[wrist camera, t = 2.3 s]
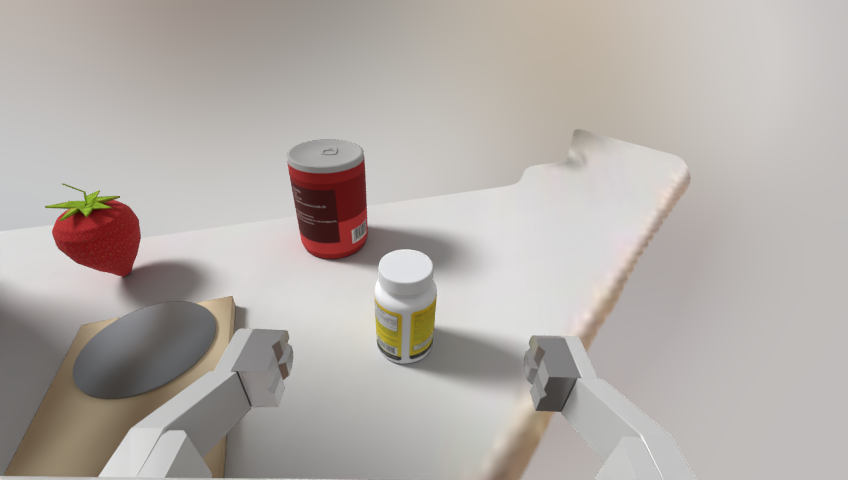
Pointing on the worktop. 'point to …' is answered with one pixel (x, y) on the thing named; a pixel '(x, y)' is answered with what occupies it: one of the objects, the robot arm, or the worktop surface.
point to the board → (123, 385)
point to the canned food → (329, 196)
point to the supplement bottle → (405, 306)
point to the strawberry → (98, 233)
